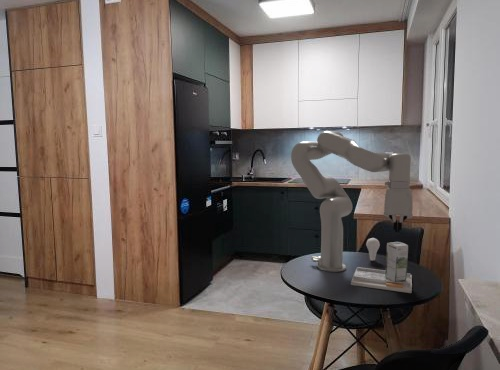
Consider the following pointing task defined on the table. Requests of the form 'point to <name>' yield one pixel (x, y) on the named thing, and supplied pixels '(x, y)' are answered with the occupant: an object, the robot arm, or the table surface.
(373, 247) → the lightbulb
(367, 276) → the metal tray
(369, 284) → the mounting plate
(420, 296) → the table surface
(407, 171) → the robot arm
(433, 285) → the table surface
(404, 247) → the syrup box
